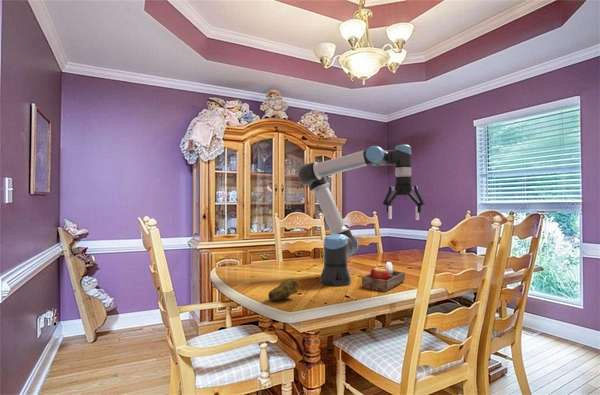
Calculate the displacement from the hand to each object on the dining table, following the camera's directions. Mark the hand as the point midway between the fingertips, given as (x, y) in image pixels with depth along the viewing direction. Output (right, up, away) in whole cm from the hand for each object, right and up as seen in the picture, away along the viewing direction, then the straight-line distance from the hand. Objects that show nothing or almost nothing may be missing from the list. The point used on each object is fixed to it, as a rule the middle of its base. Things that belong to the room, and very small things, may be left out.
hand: (403, 219), depth 160 cm
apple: (-13, -31, -6) cm, 34 cm away
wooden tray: (-10, -32, -2) cm, 33 cm away
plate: (-7, -31, +3) cm, 31 cm away
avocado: (-58, -31, -27) cm, 71 cm away
